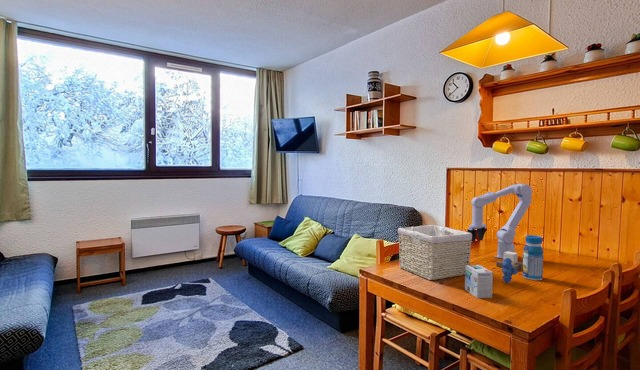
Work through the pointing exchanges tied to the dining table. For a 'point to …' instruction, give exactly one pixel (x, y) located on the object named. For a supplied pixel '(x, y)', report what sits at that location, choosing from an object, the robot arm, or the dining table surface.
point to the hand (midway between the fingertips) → (476, 241)
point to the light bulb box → (478, 281)
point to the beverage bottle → (533, 258)
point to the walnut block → (517, 265)
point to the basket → (434, 251)
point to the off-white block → (511, 256)
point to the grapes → (508, 270)
